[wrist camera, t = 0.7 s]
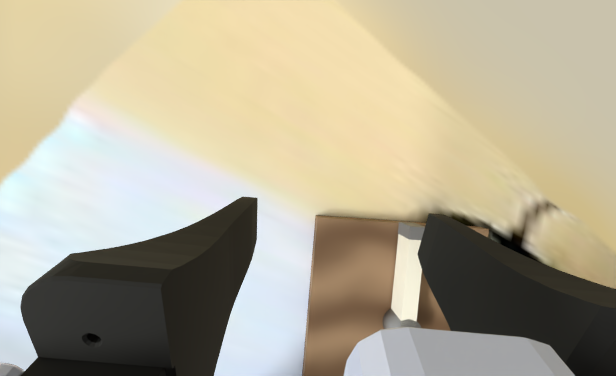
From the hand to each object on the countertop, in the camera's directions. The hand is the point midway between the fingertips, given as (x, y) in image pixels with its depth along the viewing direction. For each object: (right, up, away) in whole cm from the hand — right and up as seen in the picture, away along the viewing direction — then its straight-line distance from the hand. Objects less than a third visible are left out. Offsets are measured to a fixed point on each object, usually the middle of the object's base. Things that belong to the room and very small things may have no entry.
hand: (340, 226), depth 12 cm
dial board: (+8, -12, +19) cm, 24 cm away
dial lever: (+8, -8, +17) cm, 20 cm away
